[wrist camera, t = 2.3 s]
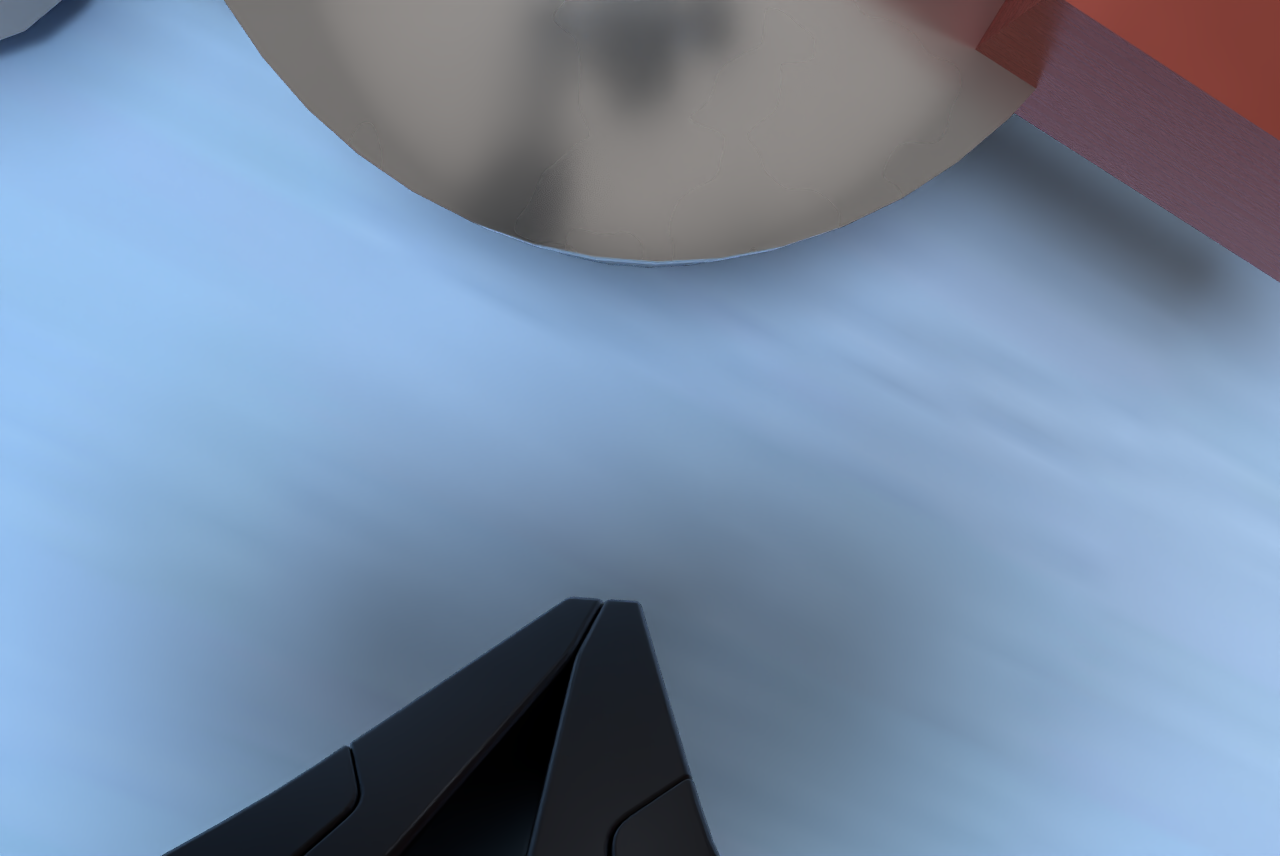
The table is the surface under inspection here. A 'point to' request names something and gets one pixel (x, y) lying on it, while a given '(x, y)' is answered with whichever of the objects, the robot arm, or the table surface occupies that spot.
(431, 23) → the lid
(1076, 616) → the table surface
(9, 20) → the can
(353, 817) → the robot arm
